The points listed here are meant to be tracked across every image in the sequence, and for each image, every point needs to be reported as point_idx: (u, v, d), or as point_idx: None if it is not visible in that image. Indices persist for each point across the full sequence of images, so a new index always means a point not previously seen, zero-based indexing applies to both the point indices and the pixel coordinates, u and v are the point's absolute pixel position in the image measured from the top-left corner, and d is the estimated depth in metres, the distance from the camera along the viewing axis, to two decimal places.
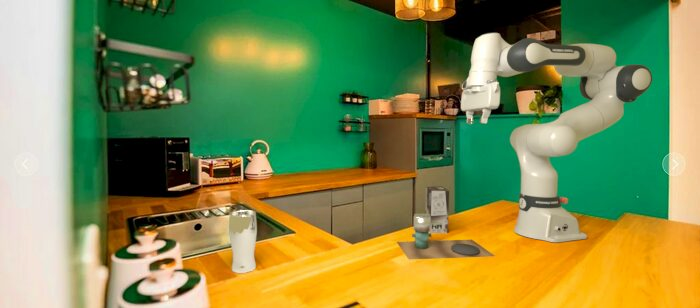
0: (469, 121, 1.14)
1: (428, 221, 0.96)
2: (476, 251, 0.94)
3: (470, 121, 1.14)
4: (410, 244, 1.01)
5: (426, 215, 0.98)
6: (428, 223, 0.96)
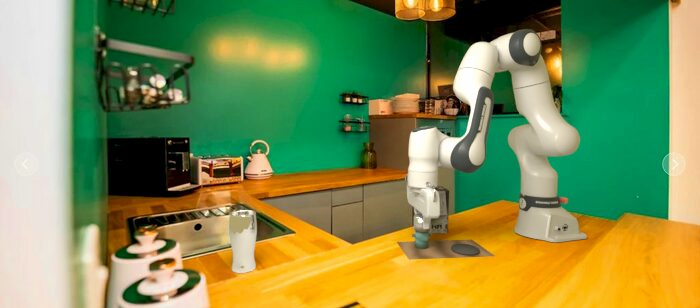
0: None
1: None
2: (476, 251, 0.94)
3: None
4: (410, 244, 1.01)
5: None
6: None
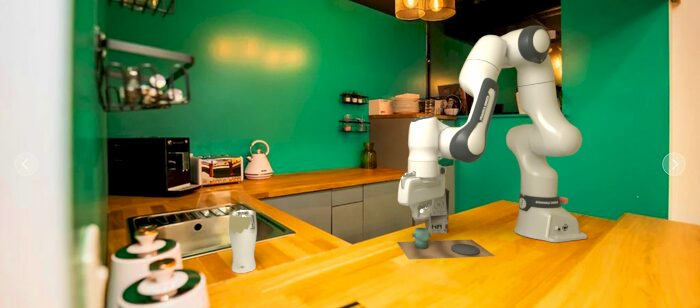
0: None
1: (421, 211, 0.96)
2: (476, 251, 0.94)
3: None
4: (410, 244, 1.01)
5: (424, 206, 0.97)
6: (421, 213, 0.96)
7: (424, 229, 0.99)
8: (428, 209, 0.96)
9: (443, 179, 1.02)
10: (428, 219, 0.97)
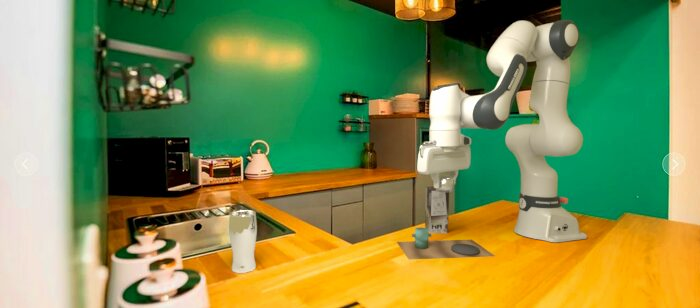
0: None
1: (443, 182, 0.94)
2: (476, 251, 0.94)
3: None
4: (410, 244, 1.01)
5: (446, 176, 0.95)
6: (443, 184, 0.94)
7: (424, 229, 0.99)
8: (450, 180, 0.94)
9: (468, 150, 0.98)
10: (450, 190, 0.95)
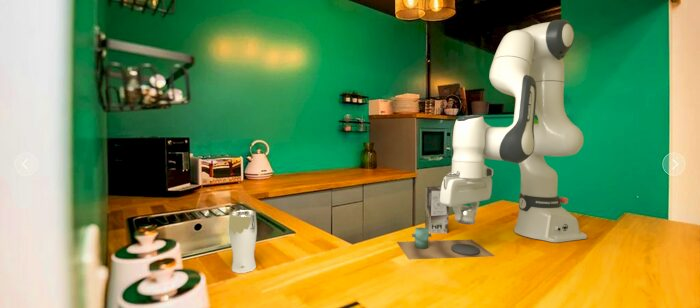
0: None
1: (465, 213, 0.93)
2: (476, 251, 0.94)
3: None
4: (410, 244, 1.01)
5: (468, 208, 0.94)
6: (465, 215, 0.93)
7: (424, 229, 0.99)
8: (472, 211, 0.93)
9: (489, 181, 0.97)
10: (472, 222, 0.93)
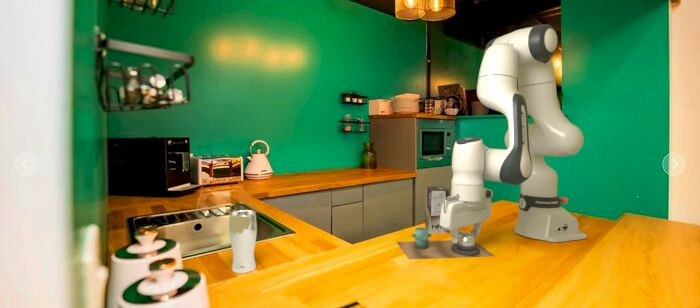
0: (472, 233, 0.99)
1: (465, 240, 0.94)
2: (476, 251, 0.94)
3: (473, 233, 0.98)
4: (410, 244, 1.01)
5: (468, 235, 0.95)
6: (465, 242, 0.94)
7: (424, 229, 0.99)
8: (472, 238, 0.94)
9: (489, 202, 0.98)
10: (472, 249, 0.94)
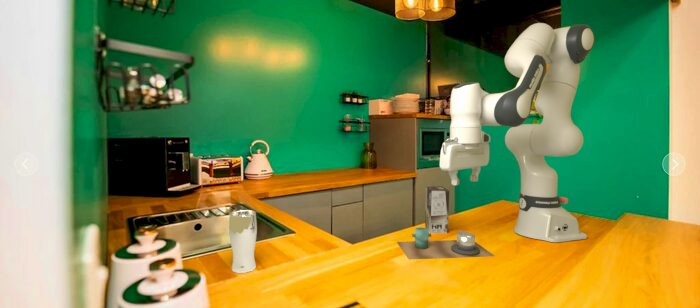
0: (471, 178, 1.01)
1: (465, 240, 0.94)
2: (476, 251, 0.94)
3: (472, 178, 1.01)
4: (410, 244, 1.01)
5: (468, 235, 0.95)
6: (465, 242, 0.94)
7: (424, 229, 0.99)
8: (472, 238, 0.94)
9: (487, 147, 1.00)
10: (472, 249, 0.94)
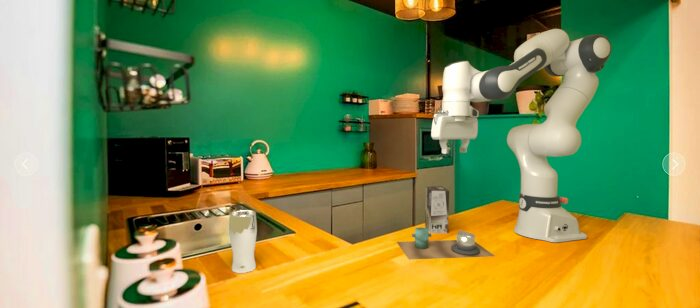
0: (460, 150, 1.11)
1: (465, 240, 0.94)
2: (476, 251, 0.94)
3: (461, 150, 1.11)
4: (410, 244, 1.01)
5: (468, 235, 0.95)
6: (465, 242, 0.94)
7: (424, 229, 0.99)
8: (472, 238, 0.94)
9: (475, 122, 1.10)
10: (472, 249, 0.94)
